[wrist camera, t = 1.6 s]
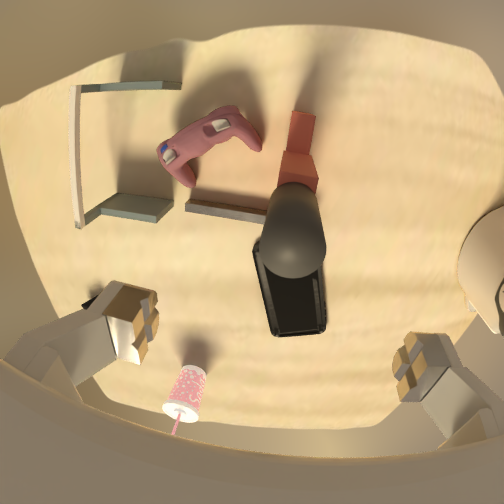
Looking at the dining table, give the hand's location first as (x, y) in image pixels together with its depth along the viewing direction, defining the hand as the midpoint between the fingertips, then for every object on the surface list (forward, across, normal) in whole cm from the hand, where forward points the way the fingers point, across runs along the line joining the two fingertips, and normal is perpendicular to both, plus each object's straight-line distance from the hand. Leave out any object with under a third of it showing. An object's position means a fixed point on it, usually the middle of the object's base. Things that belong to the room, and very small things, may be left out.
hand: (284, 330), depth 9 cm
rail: (+25, +4, +6) cm, 26 cm away
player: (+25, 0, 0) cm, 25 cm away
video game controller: (+25, +8, -1) cm, 26 cm away
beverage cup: (+25, +10, +38) cm, 46 cm away
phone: (+25, -3, +16) cm, 30 cm away
